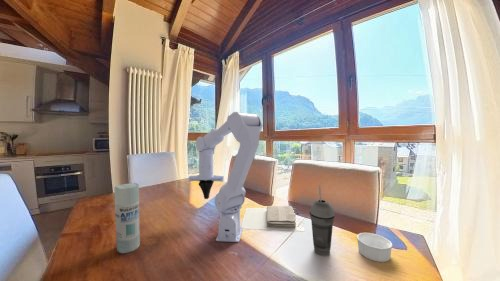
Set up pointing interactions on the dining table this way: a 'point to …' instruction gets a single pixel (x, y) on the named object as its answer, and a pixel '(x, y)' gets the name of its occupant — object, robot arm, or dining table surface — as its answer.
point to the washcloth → (281, 216)
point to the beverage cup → (322, 225)
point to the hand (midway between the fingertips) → (206, 198)
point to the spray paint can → (127, 217)
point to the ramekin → (374, 247)
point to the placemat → (261, 221)
